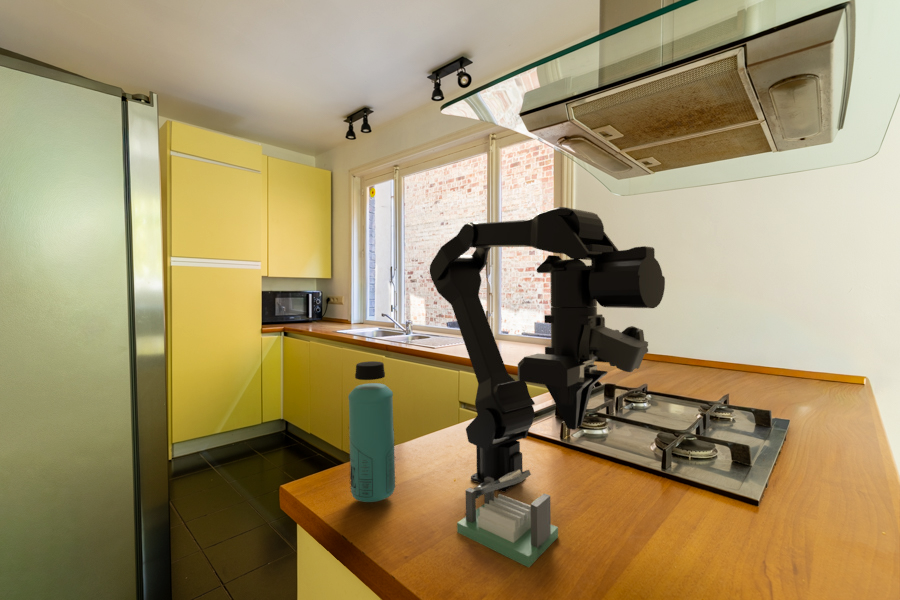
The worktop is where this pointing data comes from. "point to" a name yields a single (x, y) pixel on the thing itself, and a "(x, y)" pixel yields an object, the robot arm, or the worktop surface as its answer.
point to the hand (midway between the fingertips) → (574, 427)
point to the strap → (502, 482)
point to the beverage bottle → (371, 436)
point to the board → (509, 525)
